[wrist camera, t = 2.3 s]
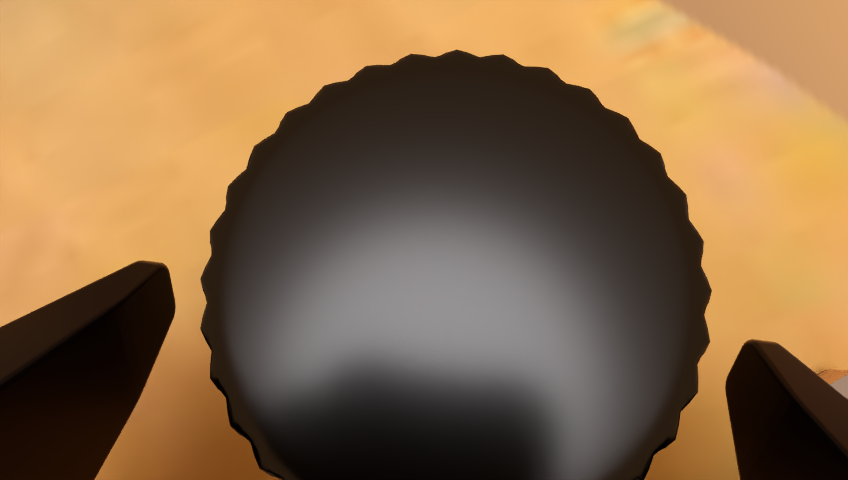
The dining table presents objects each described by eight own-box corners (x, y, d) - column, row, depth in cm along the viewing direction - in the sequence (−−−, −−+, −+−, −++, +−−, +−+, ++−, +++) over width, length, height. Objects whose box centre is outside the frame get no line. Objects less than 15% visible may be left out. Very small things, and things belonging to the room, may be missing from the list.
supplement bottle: (574, 235, 18) (833, -13, 6) (555, 483, 17) (835, 766, 5) (343, 208, 18) (168, -75, 7) (305, 449, 17) (0, 636, 5)
